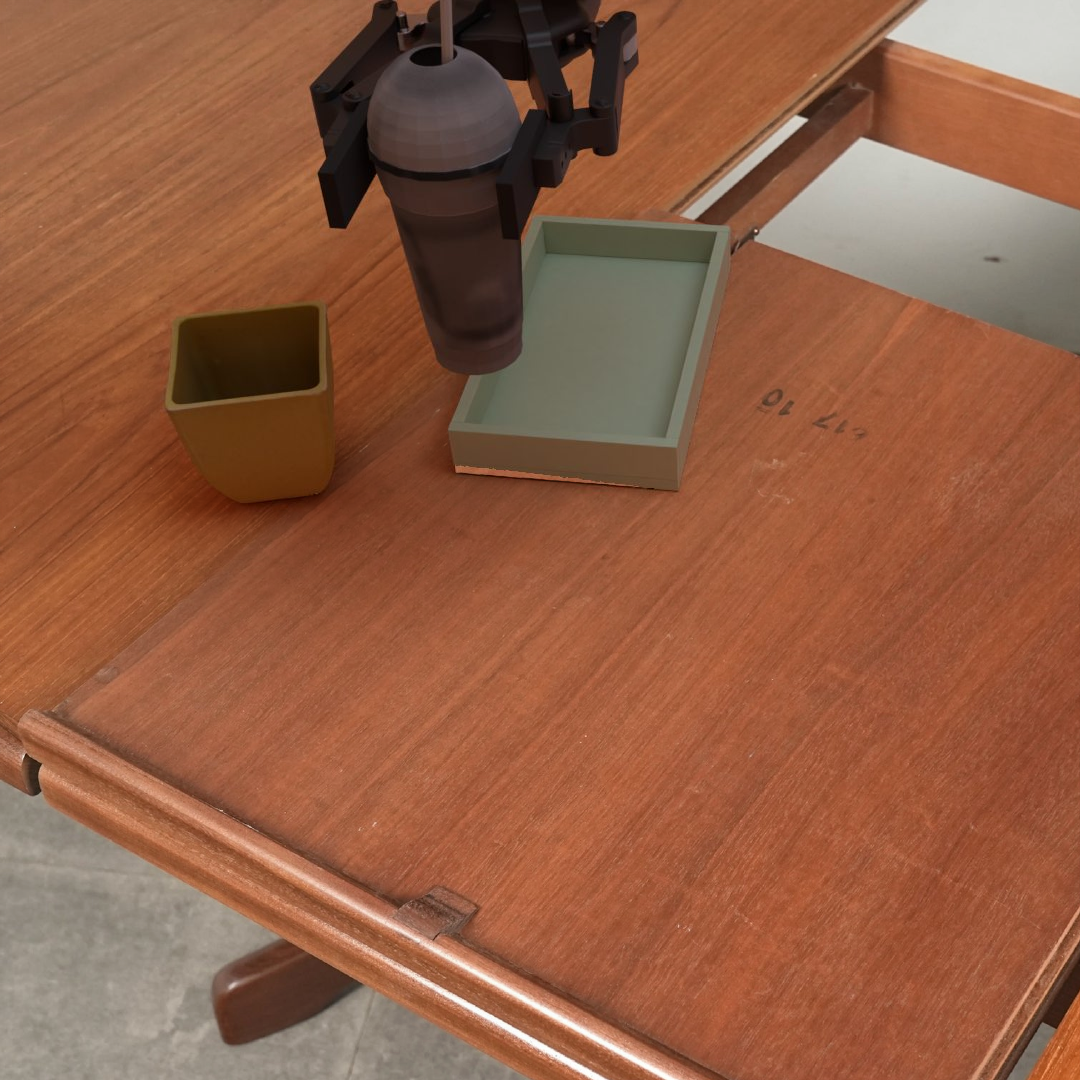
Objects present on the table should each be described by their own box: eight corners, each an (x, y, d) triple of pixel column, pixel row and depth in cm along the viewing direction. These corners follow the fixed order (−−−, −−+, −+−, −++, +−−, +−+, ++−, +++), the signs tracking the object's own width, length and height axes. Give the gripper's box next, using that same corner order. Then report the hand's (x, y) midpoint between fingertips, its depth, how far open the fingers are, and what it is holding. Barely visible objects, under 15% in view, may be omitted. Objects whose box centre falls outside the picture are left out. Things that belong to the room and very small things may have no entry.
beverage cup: (434, 301, 82) (364, -93, 67) (566, 315, 81) (525, -83, 66) (387, 383, 77) (301, -20, 63) (527, 399, 76) (473, -8, 61)
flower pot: (357, 514, 91) (326, 389, 84) (205, 533, 90) (162, 408, 83) (354, 421, 96) (325, 297, 90) (212, 438, 96) (172, 315, 89)
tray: (678, 491, 91) (676, 447, 89) (454, 473, 93) (447, 429, 90) (730, 268, 107) (730, 225, 104) (538, 256, 108) (533, 213, 106)
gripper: (721, 55, 84) (649, 295, 69) (366, 38, 87) (222, 266, 72) (719, -88, 79) (640, 139, 64) (340, -102, 81) (177, 113, 66)
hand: (419, 206), depth 68 cm, fingers closed on beverage cup, 7 cm apart
